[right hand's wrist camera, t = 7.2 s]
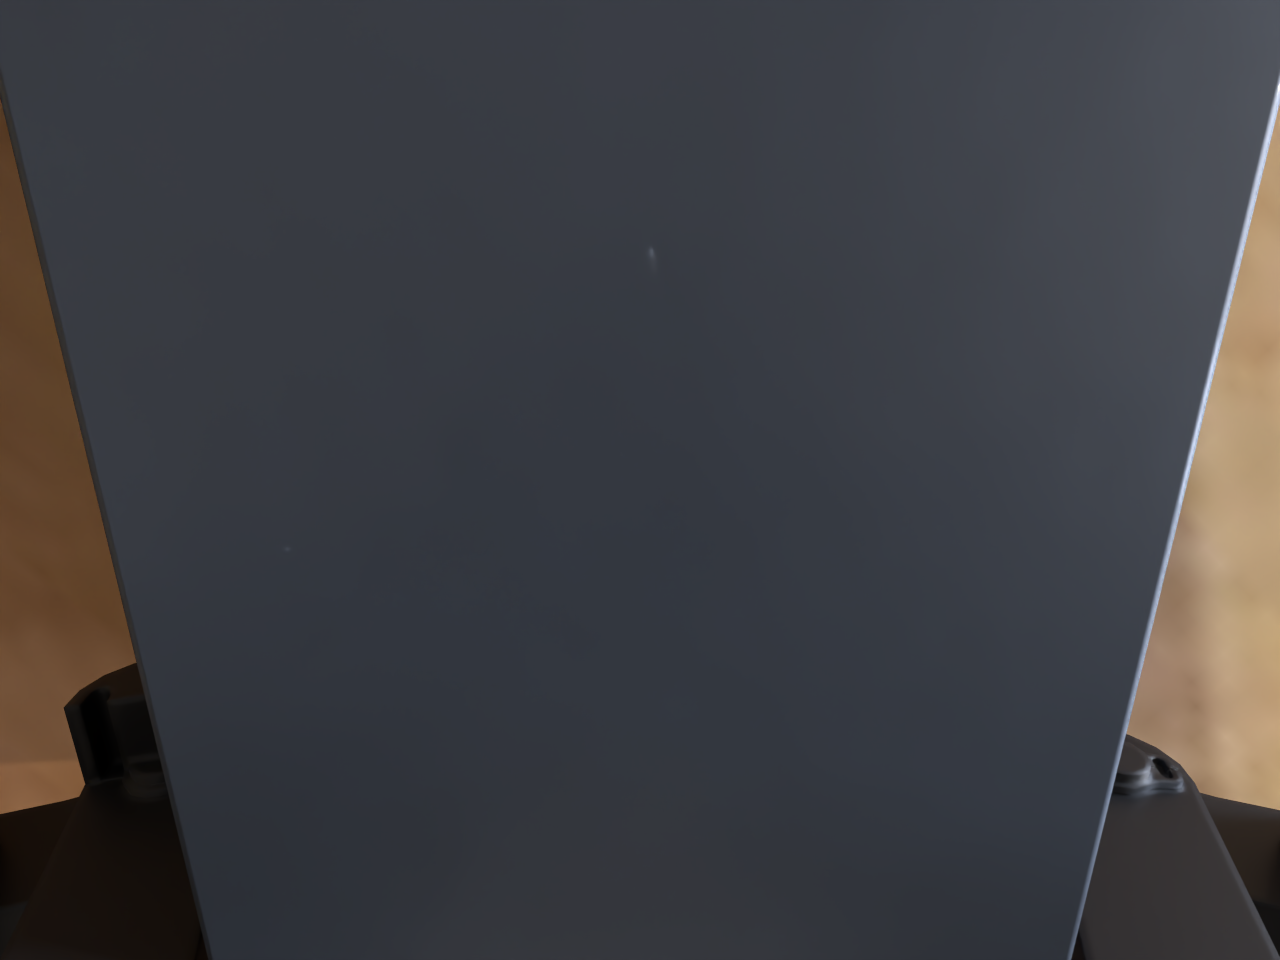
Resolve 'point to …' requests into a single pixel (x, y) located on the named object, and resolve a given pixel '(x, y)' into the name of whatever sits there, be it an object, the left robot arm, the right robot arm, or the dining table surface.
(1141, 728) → the dining table surface
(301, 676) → the beam
